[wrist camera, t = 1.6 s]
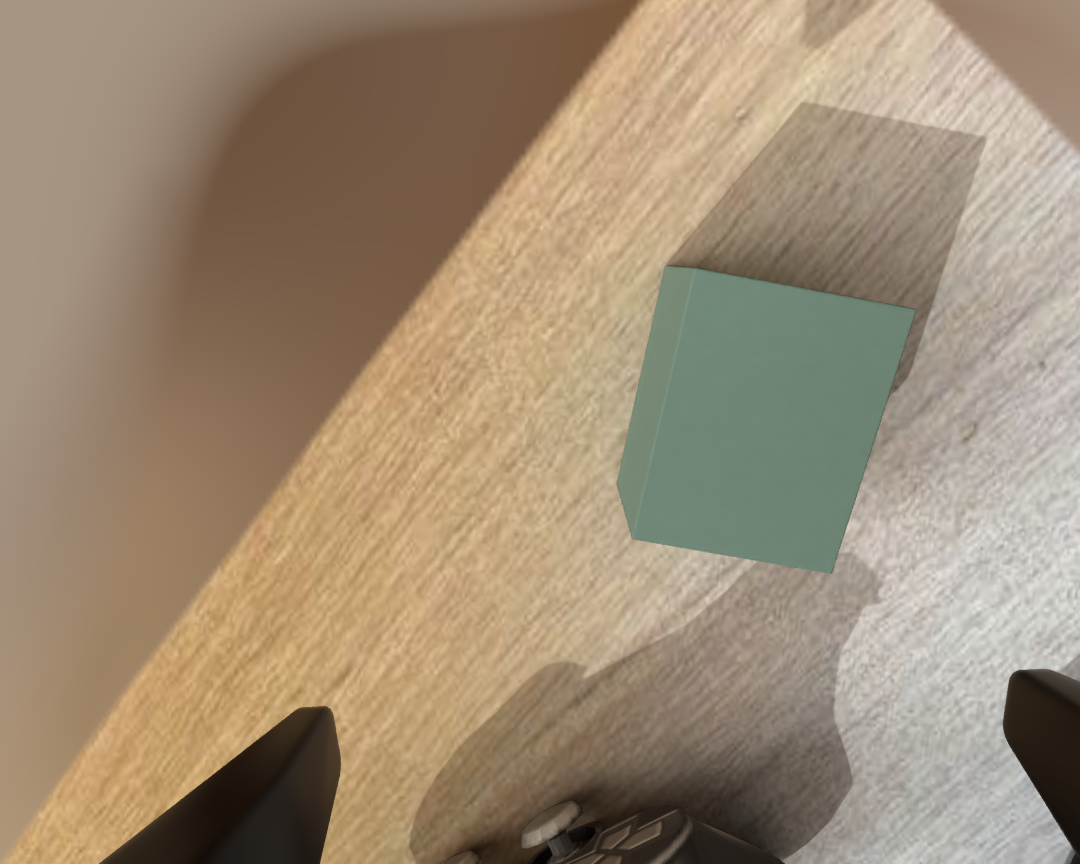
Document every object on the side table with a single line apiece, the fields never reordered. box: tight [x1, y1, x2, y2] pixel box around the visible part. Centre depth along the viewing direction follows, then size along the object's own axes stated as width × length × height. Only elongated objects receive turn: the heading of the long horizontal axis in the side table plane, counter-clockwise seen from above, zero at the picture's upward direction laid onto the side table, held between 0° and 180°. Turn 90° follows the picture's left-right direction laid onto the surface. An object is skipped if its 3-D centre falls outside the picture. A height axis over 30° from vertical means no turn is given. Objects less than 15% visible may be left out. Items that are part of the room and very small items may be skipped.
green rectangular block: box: [617, 266, 916, 573], centre depth 17 cm, size 5×6×4 cm
